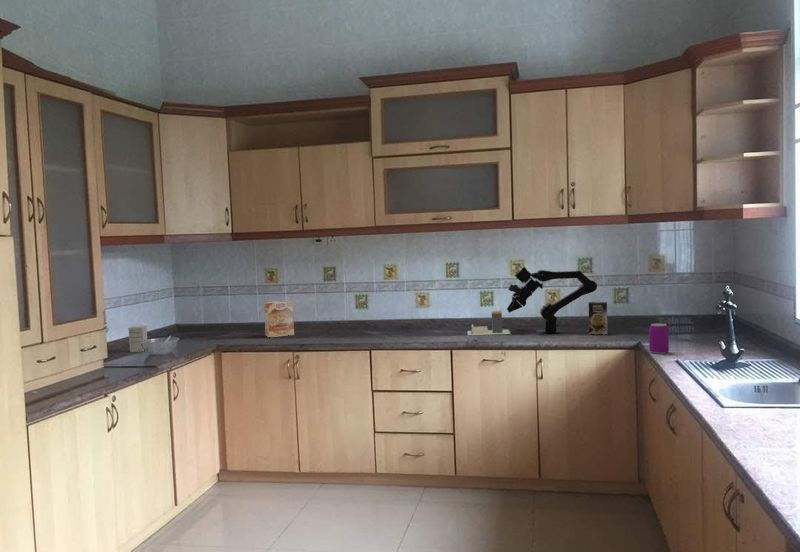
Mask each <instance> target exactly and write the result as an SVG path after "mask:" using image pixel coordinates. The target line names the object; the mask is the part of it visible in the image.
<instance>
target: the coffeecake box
mask: <svg viewBox="0 0 800 552" xmlns="http://www.w3.org/2000/svg"><path fill="white" fill-rule="evenodd" d="M293 302H294V301H293V300H290V299H287V300H276V301H266V302H263V310H264V311H263V312H264V329H265V330H264V333H265V337H266V336H267V338H269V337H271V338H278V337H288V335H289V336H295V323H294V321H295V320H294V304H293Z"/></svg>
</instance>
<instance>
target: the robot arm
mask: <svg viewBox="0 0 800 552" xmlns="http://www.w3.org/2000/svg"><path fill="white" fill-rule="evenodd" d="M514 277H515V278H516V279H517V280H519V282H521V283H522V284H524V285H523V286H521V287H519V286H518V285H517V284H511V283H510V285H509V288H508V289H507V290H508V291H510V292H513V294H512V296H511V302H510V303H509V305H508V307H507V308H506V310H507V312H508V313H512V312H514V311H516V310H519V309H521V308H523V307H525V306H526V304H527V300H528V299H529V298H530V297H532V295H533V294H534V293H535V291H536V290H537V289H538V288H540V289H541V290H543V289H544V288H543V286H544V284H543V282H548V281H552V280H562V279H564V280H565V279H569V280H570V279H577V281H579V282H580V283H581V285H580V286H579V287H578V288H577V289H576V290H573V291H571V292H570V293H569V294H567V295H565V296H563V298H561V299H559V300H557V301H556V302H553V303H551V302H547V303H546V304H544V305H542V307H540V311H539V313H540V315H541V317H542V318H543V319H544V331H541V332H542V333H544V334H549V335H550V334H559V333H560V331H557V321H558V320H557V319H558V318H557V316H556V314H557V312H558V311H559V310H561V309H563V308H564V307H566V306H567V305H569V304H571V303H572V302H573V301H576V300H578V298H581V297H583V296H585V295H588V294H591V293H593V292H595V291H597V288H598V284H597V282H596V281H594V280H592V279H590V278H589V277H587V276H586V275H585V274H584V273H583V272H582V271H581V270H568V271H567V270H565V271H551V270H545V269H538V270H537V272H532V273H531V272H530V271H528V269H527V268H526V267H525V266H523V267H521V268H520V269H519V270H518V271H517V272H516V273H515V274H514ZM534 279H535V280H534ZM540 282H542V283H540Z"/></svg>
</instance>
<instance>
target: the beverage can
mask: <svg viewBox="0 0 800 552" xmlns="http://www.w3.org/2000/svg"><path fill="white" fill-rule="evenodd" d="M669 330H670V329H669V328H668V326H667V324H666V323H651V324H650V327H649V330H648V336H649V337H648V338H649V339H648V340H649V341H648V342H649V344H648V345H649V351H650V352H651V354H655V355H663V354H668V352H669V350H670V345H669V344H670V343H669V342H670V338H669V334H670V333H669V332H670V331H669Z"/></svg>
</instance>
